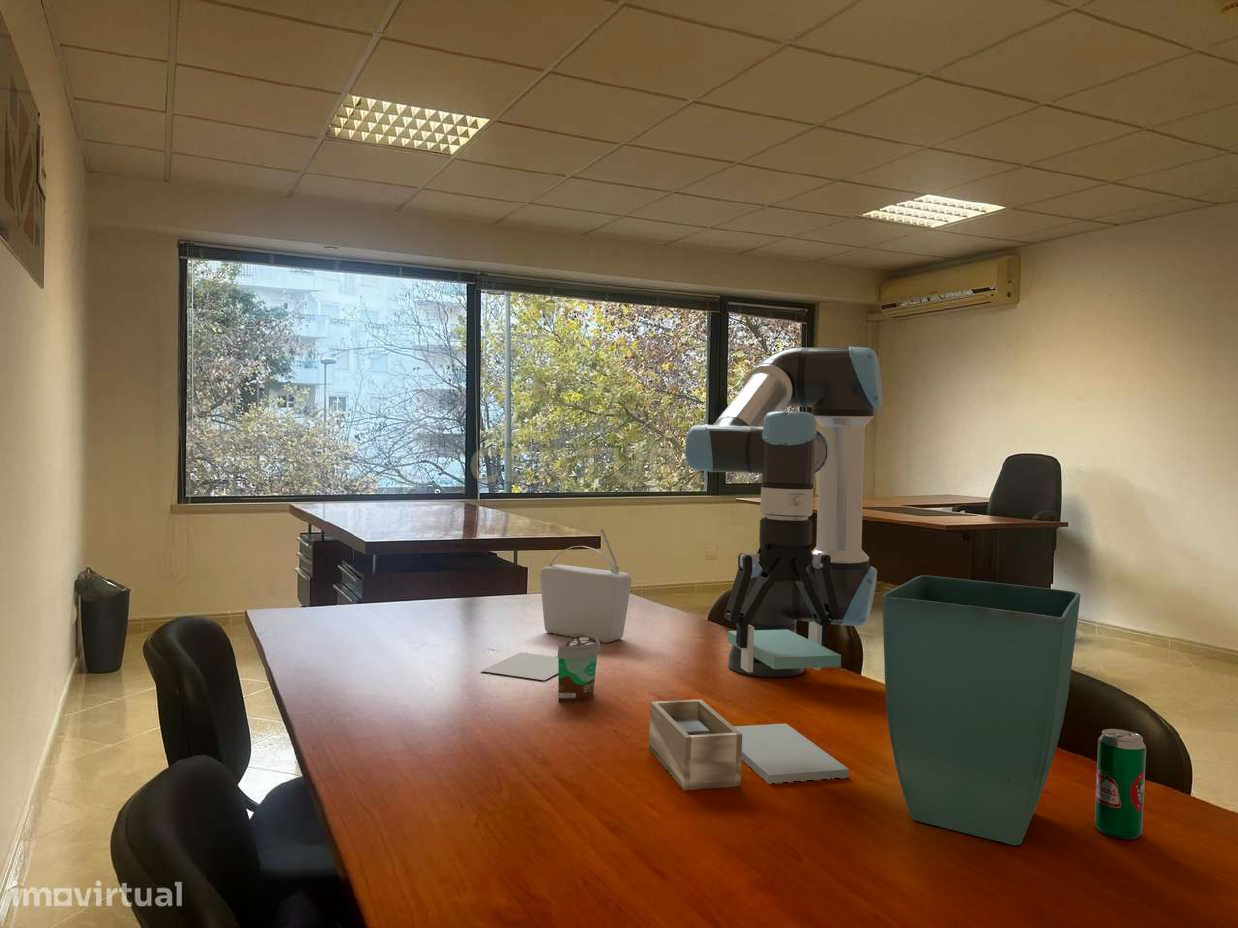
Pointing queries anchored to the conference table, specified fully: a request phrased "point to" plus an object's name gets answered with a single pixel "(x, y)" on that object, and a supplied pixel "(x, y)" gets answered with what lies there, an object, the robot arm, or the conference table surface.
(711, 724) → the box
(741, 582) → the robot arm
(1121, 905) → the conference table surface
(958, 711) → the flower pot
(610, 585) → the radio
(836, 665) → the lid
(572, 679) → the food container
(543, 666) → the paper stack
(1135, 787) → the soda can
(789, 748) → the mat
